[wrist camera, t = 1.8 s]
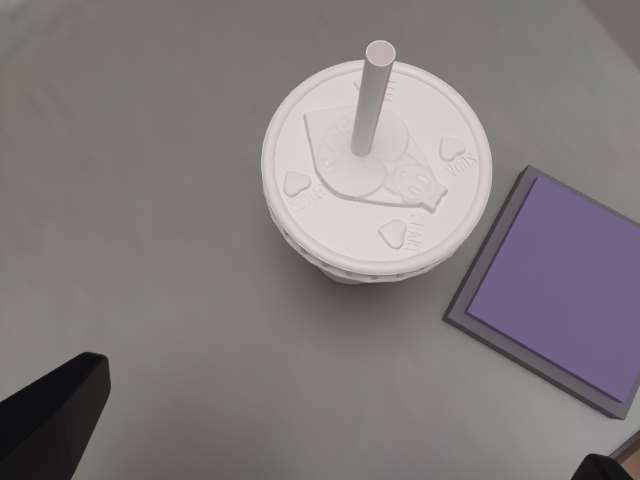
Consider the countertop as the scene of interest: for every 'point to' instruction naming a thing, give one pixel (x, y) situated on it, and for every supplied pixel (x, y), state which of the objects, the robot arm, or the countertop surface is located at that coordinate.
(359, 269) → the smoothie
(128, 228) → the countertop surface
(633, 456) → the marked square
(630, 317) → the ink pad
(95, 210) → the countertop surface
